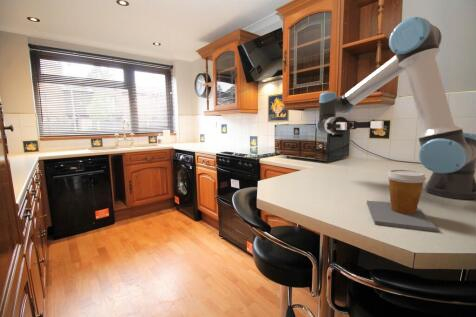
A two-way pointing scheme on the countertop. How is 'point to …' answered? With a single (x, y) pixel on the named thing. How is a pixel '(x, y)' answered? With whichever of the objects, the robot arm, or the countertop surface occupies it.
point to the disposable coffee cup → (405, 190)
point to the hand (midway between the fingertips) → (364, 125)
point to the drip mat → (399, 217)
